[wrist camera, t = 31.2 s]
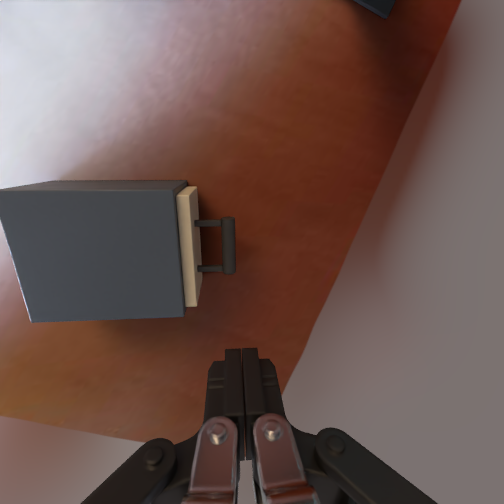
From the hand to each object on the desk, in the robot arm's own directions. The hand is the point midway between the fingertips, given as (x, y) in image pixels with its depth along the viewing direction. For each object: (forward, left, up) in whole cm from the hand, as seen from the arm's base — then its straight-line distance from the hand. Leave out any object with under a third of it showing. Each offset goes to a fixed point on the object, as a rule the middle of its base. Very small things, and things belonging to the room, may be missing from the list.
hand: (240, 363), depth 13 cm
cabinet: (+5, +11, -23) cm, 26 cm away
